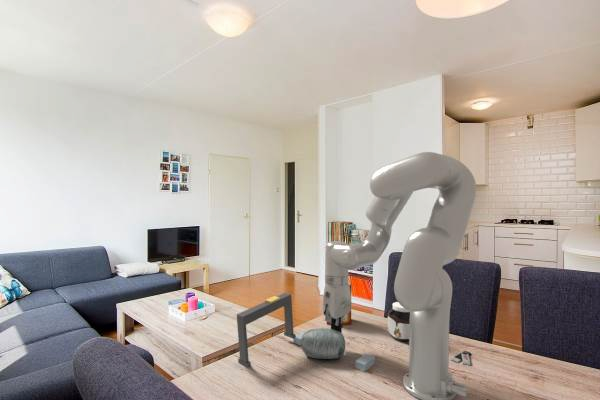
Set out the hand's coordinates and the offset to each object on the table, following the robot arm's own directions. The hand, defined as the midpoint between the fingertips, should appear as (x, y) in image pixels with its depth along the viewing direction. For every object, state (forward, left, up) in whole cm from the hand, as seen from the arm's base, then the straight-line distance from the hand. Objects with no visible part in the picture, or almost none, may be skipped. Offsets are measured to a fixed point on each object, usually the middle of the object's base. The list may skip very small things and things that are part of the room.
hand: (336, 335), depth 103 cm
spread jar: (-14, -24, -5) cm, 28 cm away
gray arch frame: (+15, +16, -3) cm, 22 cm away
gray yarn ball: (0, +7, -5) cm, 8 cm away
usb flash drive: (-34, -21, -5) cm, 40 cm away
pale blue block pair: (0, +3, -4) cm, 5 cm away
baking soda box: (+13, -20, -5) cm, 24 cm away
